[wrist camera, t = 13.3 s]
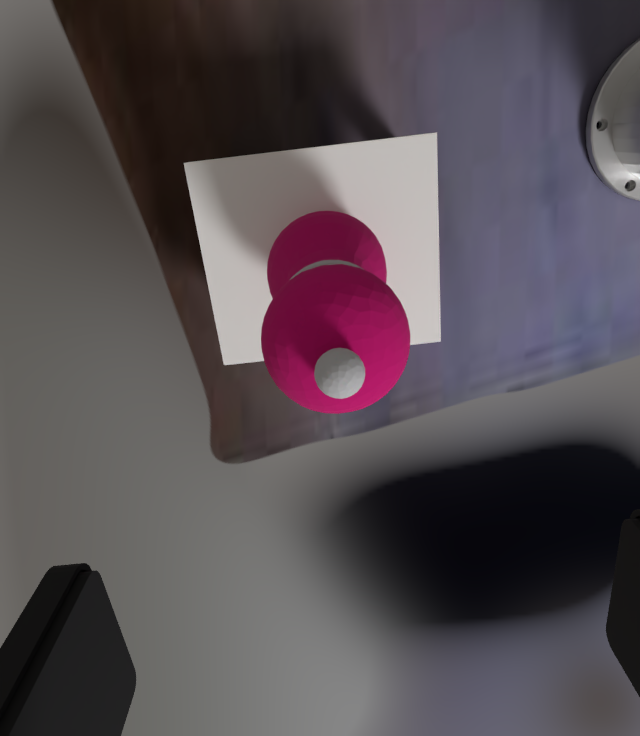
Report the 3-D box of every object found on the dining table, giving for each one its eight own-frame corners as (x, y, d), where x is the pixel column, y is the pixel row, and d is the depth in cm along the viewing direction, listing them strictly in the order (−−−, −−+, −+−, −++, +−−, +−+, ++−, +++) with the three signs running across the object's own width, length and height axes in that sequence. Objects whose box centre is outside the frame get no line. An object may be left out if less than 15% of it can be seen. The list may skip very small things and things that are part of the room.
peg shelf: (410, 133, 41) (436, 132, 33) (416, 303, 47) (440, 341, 38) (209, 157, 42) (183, 163, 33) (239, 323, 48) (223, 365, 39)
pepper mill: (257, 219, 35) (200, 311, 16) (364, 189, 34) (428, 249, 16) (289, 320, 38) (269, 494, 19) (387, 293, 37) (465, 448, 19)
